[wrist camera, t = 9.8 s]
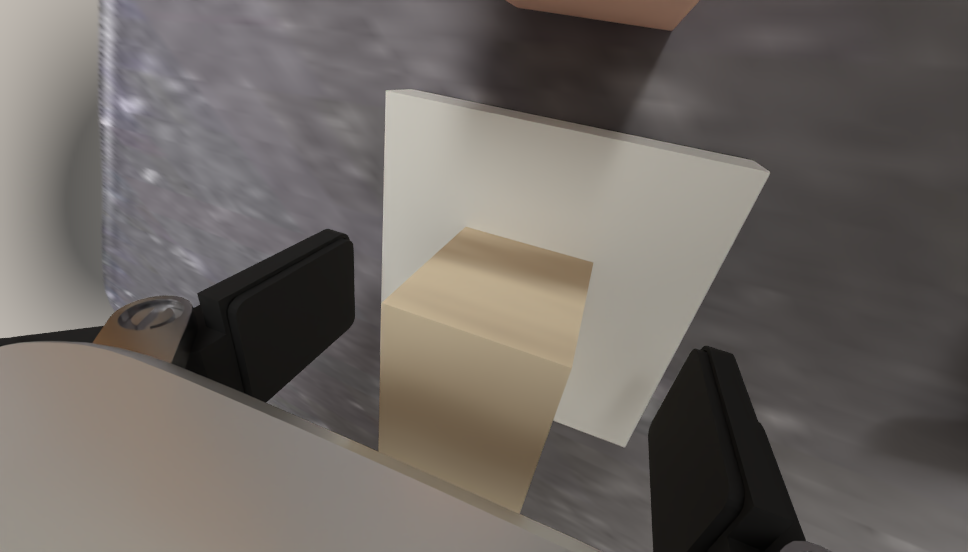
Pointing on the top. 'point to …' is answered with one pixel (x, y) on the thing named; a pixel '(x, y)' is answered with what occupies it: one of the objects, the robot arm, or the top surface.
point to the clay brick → (617, 10)
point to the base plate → (571, 228)
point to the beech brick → (479, 361)
